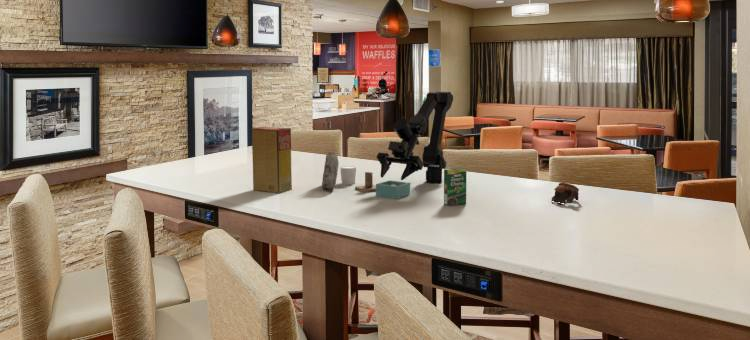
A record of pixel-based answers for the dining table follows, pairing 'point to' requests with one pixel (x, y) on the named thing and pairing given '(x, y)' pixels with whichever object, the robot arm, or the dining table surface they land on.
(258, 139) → the food packaging
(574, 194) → the dark brown lump
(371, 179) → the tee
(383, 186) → the teal open-top box
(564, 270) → the dining table surface
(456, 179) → the coffee box
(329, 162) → the decorative rock
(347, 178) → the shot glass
